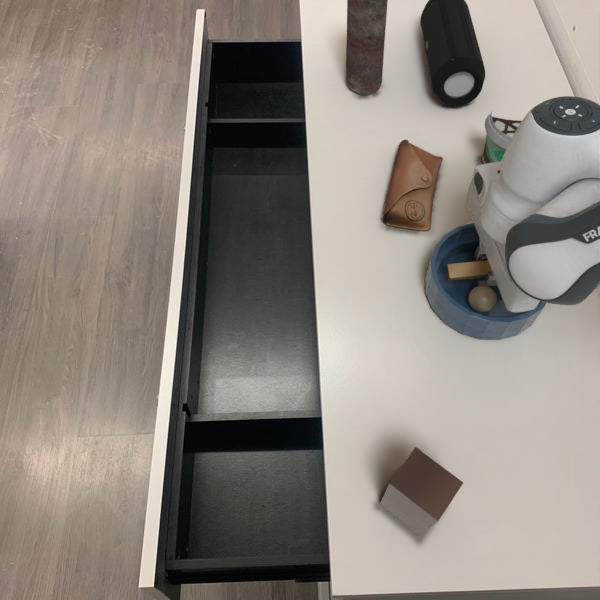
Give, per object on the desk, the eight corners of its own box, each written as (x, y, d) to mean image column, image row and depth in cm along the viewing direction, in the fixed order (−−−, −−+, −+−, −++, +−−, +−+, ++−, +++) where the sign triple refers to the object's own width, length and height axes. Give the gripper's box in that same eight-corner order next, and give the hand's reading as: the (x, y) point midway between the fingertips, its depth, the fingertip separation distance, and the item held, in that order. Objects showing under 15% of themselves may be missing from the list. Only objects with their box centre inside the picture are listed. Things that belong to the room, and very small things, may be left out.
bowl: (560, 283, 82) (576, 260, 77) (504, 363, 75) (517, 345, 70) (461, 229, 88) (470, 204, 83) (402, 298, 82) (407, 277, 77)
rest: (442, 503, 66) (463, 482, 56) (420, 537, 64) (438, 521, 54) (402, 472, 68) (415, 446, 58) (379, 504, 66) (389, 483, 56)
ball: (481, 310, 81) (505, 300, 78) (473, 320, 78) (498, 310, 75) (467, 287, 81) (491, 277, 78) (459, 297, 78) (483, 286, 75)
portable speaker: (415, 34, 117) (423, -13, 108) (461, 32, 116) (472, -14, 108) (428, 111, 103) (438, 66, 95) (480, 110, 103) (494, 64, 94)
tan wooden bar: (525, 259, 80) (528, 256, 78) (528, 273, 79) (531, 270, 78) (445, 267, 80) (447, 264, 79) (447, 281, 79) (449, 278, 78)
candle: (337, 86, 108) (339, -14, 91) (358, 68, 111) (364, -32, 94) (367, 101, 106) (375, 1, 89) (388, 82, 108) (400, -19, 91)
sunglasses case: (433, 231, 87) (417, 205, 83) (394, 238, 91) (377, 214, 87) (444, 155, 96) (430, 127, 92) (408, 165, 100) (393, 139, 96)
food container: (467, 179, 94) (481, 135, 85) (473, 155, 97) (488, 110, 88) (539, 195, 91) (561, 151, 83) (543, 170, 94) (565, 125, 86)
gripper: (574, 276, 62) (532, 329, 74) (515, 151, 72) (486, 215, 84) (522, 283, 62) (488, 335, 74) (470, 157, 72) (448, 220, 84)
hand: (487, 270), depth 79 cm, fingers closed on tan wooden bar, 2 cm apart
